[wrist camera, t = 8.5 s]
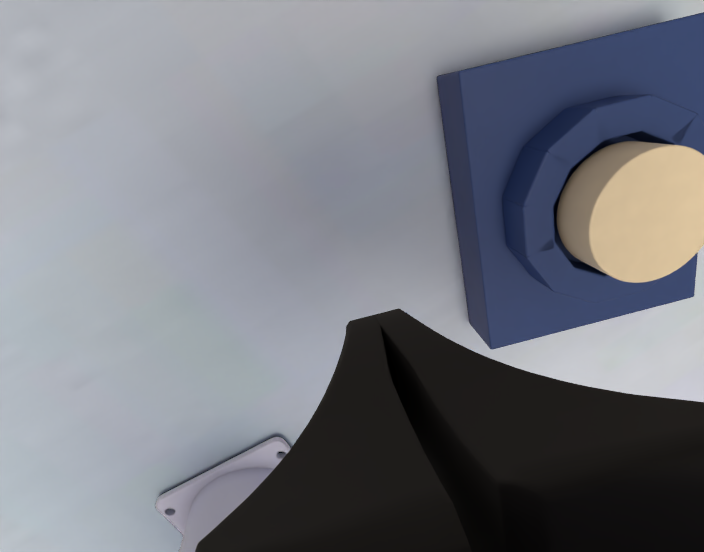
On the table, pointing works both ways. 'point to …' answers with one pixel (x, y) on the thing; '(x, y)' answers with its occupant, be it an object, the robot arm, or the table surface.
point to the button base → (560, 169)
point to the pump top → (635, 210)
